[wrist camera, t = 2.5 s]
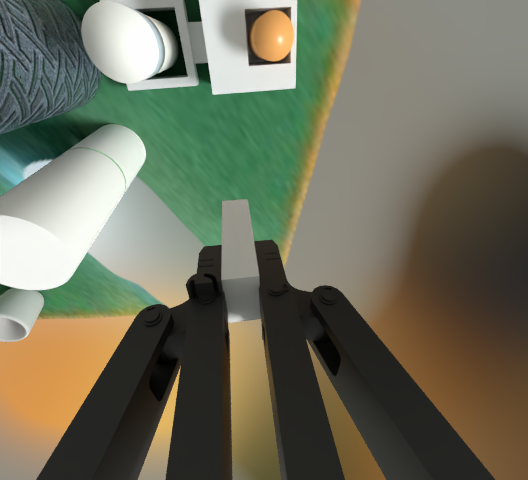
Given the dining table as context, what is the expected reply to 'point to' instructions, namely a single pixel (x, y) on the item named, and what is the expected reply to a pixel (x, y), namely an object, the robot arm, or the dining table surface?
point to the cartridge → (127, 42)
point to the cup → (18, 313)
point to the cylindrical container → (65, 208)
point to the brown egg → (271, 36)
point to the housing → (223, 45)
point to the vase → (42, 63)
